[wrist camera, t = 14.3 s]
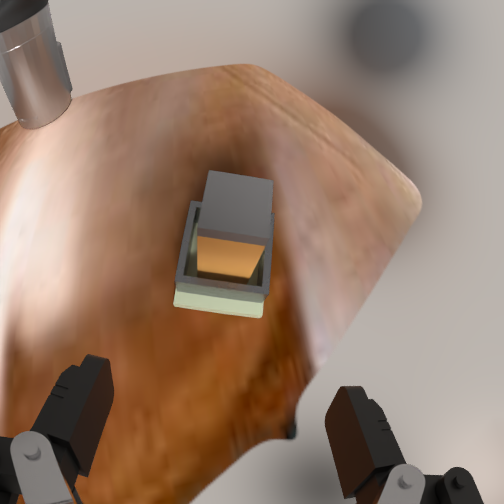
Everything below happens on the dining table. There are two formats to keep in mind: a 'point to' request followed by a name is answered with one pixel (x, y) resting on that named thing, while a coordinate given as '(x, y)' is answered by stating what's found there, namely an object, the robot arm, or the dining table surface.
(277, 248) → the dining table surface
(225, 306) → the cream flat slab
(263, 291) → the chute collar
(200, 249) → the chute block
